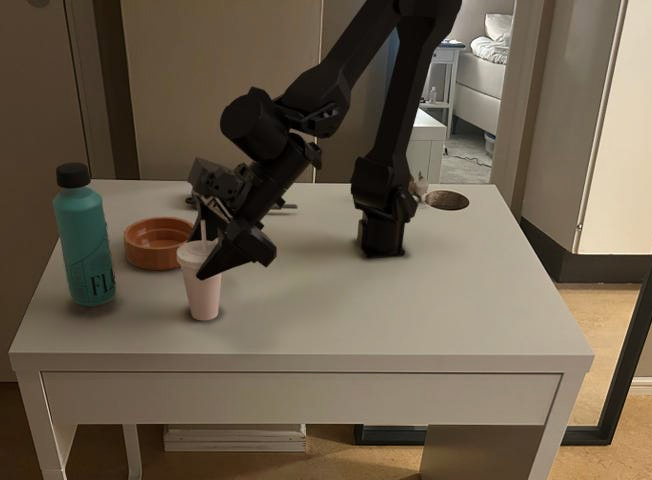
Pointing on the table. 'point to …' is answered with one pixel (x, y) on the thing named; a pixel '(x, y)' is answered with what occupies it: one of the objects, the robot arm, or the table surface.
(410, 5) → the robot arm
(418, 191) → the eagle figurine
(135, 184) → the table surface
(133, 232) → the bowl
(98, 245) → the beverage bottle
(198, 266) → the smoothie
